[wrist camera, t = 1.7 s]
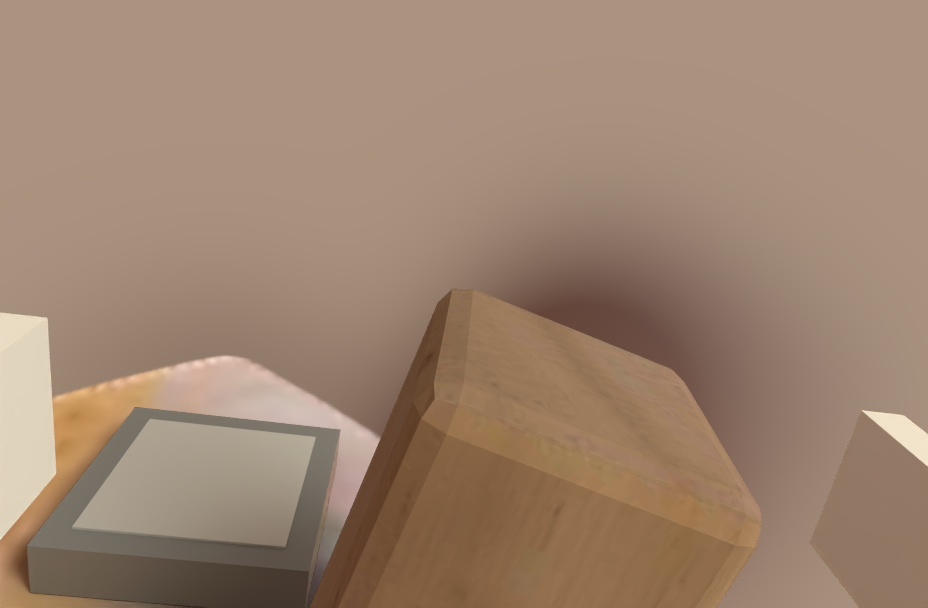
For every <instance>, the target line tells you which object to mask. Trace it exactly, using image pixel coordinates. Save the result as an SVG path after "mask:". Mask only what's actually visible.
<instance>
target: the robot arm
mask: <svg viewBox="0 0 928 608" xmlns="http://www.w3.org/2000/svg"><path fill="white" fill-rule="evenodd" d="M55 475H56V458H55V441H54V424H53V407H52V390H51V374H50V356H49V339H48V321H47V318H43V317H34V316H26V315H17V314H8V313H0V540H1V539H2V537H3V536H4V535H5V534H6V533H7V531H8V530H9V529H10V528H11V527H12V526H13V524H14V523H15V522H16V521H17V520H18V518H19V517H20V516H21V515H22V514H23V512H24V511H25V510H26V509H27V508H28V507H29V505H30V504H31V503H32V502H33V501H34V499H35V498H36V497H37V496H38V495H39V494H40V492H41V491H42V490H43V489H44V488H45V486H46V485H47V484H48V483H49V482H50V480H51V479H52V478H53V477H54V476H55ZM810 544H811V545H812V546H813V548H814V549H815V550H816V552H817V553H818V554H819V556H820V557H821V558H822V560H823V561H824V562H825V563H826V565H827V566H828V567H829V569H830V570H831V571H832V573H833V574H834V575H835V576H836V578H837V579H838V580H839V582H840V583H841V584H842V586H843V587H844V588H845V589H846V591H847V592H848V593H849V595H850V596H851V597H852V599H853V600H854V601H855V603H856V604H857V605H858V606H859V608H928V434H927V433H925V432H924V431H923V430H922V429H920V428H919V427H918V426H916V425H915V424H914V423H913V422H911V421H910V420H909V419H907V418H906V417H905V416H904V415H897V414H888V413H880V412H870V411H861V413H860V416H859V418H858V421H857V423H856V426H855V429H854V431H853V434H852V436H851V439H850V441H849V444H848V446H847V449H846V451H845V454H844V456H843V459H842V462H841V464H840V467H839V469H838V472H837V475H836V477H835V480H834V482H833V485H832V487H831V490H830V492H829V495H828V497H827V500H826V502H825V505H824V508H823V510H822V513H821V516H820V518H819V520H818V523H817V526H816V528H815V531H814V533H813V536H812V538H811V541H810Z"/></svg>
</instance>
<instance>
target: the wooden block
mask: <svg viewBox="0 0 928 608" xmlns="http://www.w3.org/2000/svg"><path fill="white" fill-rule="evenodd" d="M760 529H761V512H760V509H759V507H758V505H757V504H756V502H755V500H754V499H753V497H752V495H751V494H750V492H749V490H748V489H747V487H746V485H745V484H744V482H743V480H742V479H741V477H740V475H739V474H738V472H737V470H736V468H735V467H734V465H733V463H732V462H731V460H730V458H729V457H728V455H727V453H726V452H725V450H724V448H723V447H722V445H721V443H720V441H719V440H718V438H717V437H716V435H715V433H714V431H713V430H712V428H711V426H710V425H709V423H708V421H707V420H706V418H705V416H704V415H703V413H702V411H701V410H700V408H699V406H698V404H697V403H696V401H695V399H694V398H693V396H692V394H691V393H690V391H689V389H688V388H687V386H686V384H685V383H684V382H683V381H682V380H681V379H680V378H679V377H678V376H677V375H676V374H675V372H673V370H672V369H670V368H667V367H665V366H662V365H659V364H657V363H655V362H652V361H649V360H647V359H645V358H642V357H640V356H637V355H635V354H632V353H630V352H627V351H625V350H622V349H620V348H618V347H615V346H612V345H610V344H608V343H605V342H603V341H600V340H598V339H595V338H593V337H590V336H588V335H585V334H583V333H581V332H578V331H576V330H573V329H570V328H568V327H566V326H563V325H561V324H558V323H556V322H553V321H551V320H548V319H546V318H543V317H541V316H538V315H536V314H534V313H531V312H529V311H526V310H524V309H521V308H519V307H516V306H513V305H511V304H509V303H506V302H504V301H501V300H499V299H497V298H494V297H491V296H489V295H487V294H484V293H482V292H479V291H476V290H474V289H452V290H451V291H450V292H449V293H448V294H447V295H445V297H443V298H442V299H441V300H440V301H439V302H438V304H437V306H436V308H435V311H434V313H433V315H432V318H431V320H430V323H429V325H428V327H427V330H426V332H425V335H424V337H423V339H422V342H421V344H420V346H419V349H418V351H417V354H416V356H415V358H414V361H413V363H412V366H411V368H410V370H409V372H408V375H407V377H406V380H405V382H404V384H403V387H402V389H401V391H400V394H399V396H398V399H397V401H396V403H395V406H394V408H393V410H392V413H391V415H390V418H389V420H388V422H387V425H386V427H385V430H384V432H383V434H382V437H381V439H380V441H379V444H378V446H377V448H376V451H375V453H374V456H373V458H372V460H371V463H370V465H369V467H368V470H367V472H366V475H365V477H364V479H363V482H362V484H361V486H360V489H359V491H358V494H357V496H356V498H355V501H354V503H353V505H352V508H351V510H350V513H349V515H348V517H347V520H346V522H345V524H344V527H343V529H342V532H341V534H340V536H339V539H338V541H337V543H336V546H335V548H334V551H333V553H332V555H331V558H330V560H329V562H328V565H327V567H326V570H325V572H324V574H323V577H322V579H321V581H320V584H319V586H318V589H317V591H316V593H315V596H314V598H313V600H312V603H311V605H310V608H716V607H717V606H718V604H719V603H720V601H721V600H722V598H723V597H724V595H725V594H726V592H727V590H728V589H729V587H730V586H731V585H732V583H733V582H734V580H735V578H736V577H737V576H738V574H739V573H740V571H741V570H742V568H743V567H744V565H745V564H746V562H747V561H748V559H749V558H750V556H751V555H752V553H753V552H754V550H755V549H756V546H757V542H758V538H759V534H760Z"/></svg>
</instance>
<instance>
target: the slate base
mask: <svg viewBox="0 0 928 608" xmlns="http://www.w3.org/2000/svg"><path fill="white" fill-rule="evenodd" d="M339 437H340V430H338V429H329V428H320V427H311V426H302V425H293V424H284V423H275V422H266V421H257V420H248V419H239V418H230V417H221V416H212V415H203V414H194V413H185V412H176V411H167V410H158V409H149V408H140V407H135V408H134V409H133V411H132V412H131V413H130V415H129V416H128V417H127V418H126V420H125V421H124V422H123V423H122V425H121V426H120V427H119V429H118V430H117V431H116V432H115V434H114V435H113V436H112V438H111V439H110V440H109V441H108V443H107V444H106V445H105V446H104V448H103V449H102V450H101V452H100V453H99V454H98V455H97V457H96V458H95V459H94V461H93V462H92V463H91V464H90V466H89V467H88V468H87V469H86V471H85V472H84V473H83V475H82V476H81V477H80V478H79V480H78V481H77V482H76V484H75V485H74V486H73V487H72V489H71V490H70V491H69V493H68V494H67V495H66V496H65V498H64V499H63V500H62V501H61V503H60V504H59V505H58V507H57V508H56V509H55V510H54V512H53V513H52V514H51V516H50V517H49V518H48V519H47V521H46V522H45V523H44V524H43V526H42V527H41V528H40V530H39V531H38V532H37V533H36V535H35V536H34V537H33V539H32V540H31V541H30V542H29V544H28V545H27V557H28V570H29V584H30V593H39V594H51V595H62V596H74V597H86V598H98V599H110V600H122V601H134V602H146V603H158V604H170V605H182V606H194V607H206V608H306V607H307V602H308V597H309V593H310V588H311V583H312V578H313V574H314V569H315V564H316V559H317V555H318V550H319V545H320V541H321V536H322V531H323V526H324V522H325V517H326V512H327V507H328V503H329V498H330V493H331V488H332V484H333V479H334V474H335V470H336V464H337V455H338V446H339Z"/></svg>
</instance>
